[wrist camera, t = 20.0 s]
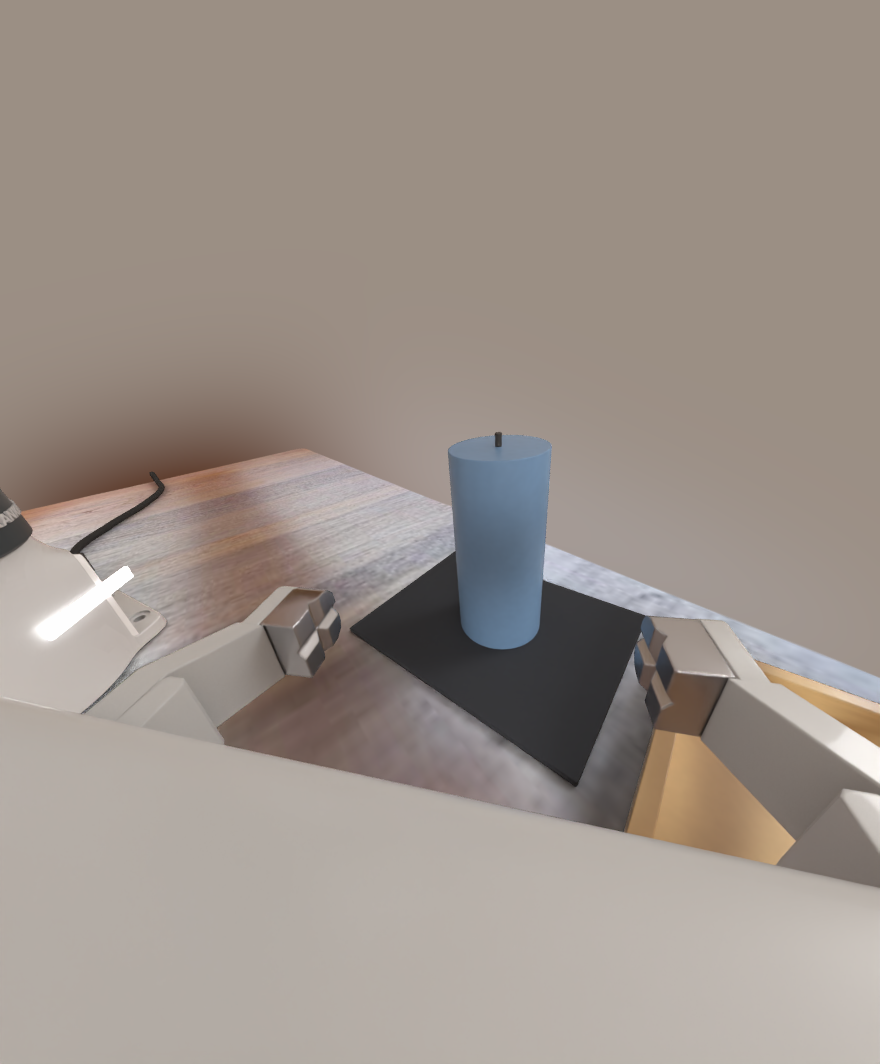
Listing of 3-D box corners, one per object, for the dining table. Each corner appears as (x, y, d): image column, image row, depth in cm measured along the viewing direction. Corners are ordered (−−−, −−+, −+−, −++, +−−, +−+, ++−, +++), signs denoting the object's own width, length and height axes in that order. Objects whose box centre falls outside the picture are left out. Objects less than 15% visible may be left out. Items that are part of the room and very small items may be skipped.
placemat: (350, 631, 27) (349, 627, 27) (456, 553, 36) (456, 550, 36) (576, 787, 16) (577, 783, 16) (645, 619, 25) (646, 615, 25)
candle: (445, 626, 26) (425, 440, 19) (487, 586, 30) (483, 420, 23) (514, 663, 22) (520, 450, 16) (552, 612, 26) (569, 425, 20)
